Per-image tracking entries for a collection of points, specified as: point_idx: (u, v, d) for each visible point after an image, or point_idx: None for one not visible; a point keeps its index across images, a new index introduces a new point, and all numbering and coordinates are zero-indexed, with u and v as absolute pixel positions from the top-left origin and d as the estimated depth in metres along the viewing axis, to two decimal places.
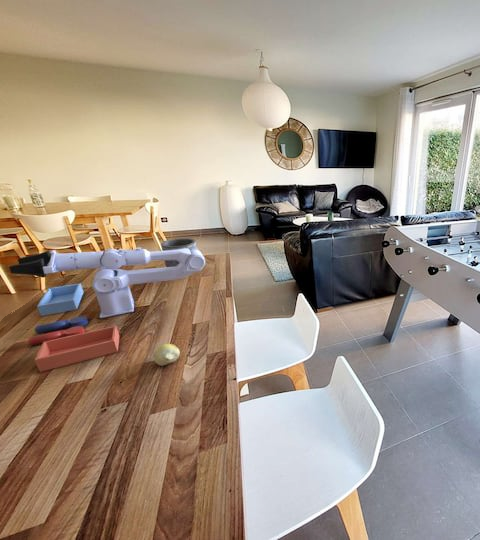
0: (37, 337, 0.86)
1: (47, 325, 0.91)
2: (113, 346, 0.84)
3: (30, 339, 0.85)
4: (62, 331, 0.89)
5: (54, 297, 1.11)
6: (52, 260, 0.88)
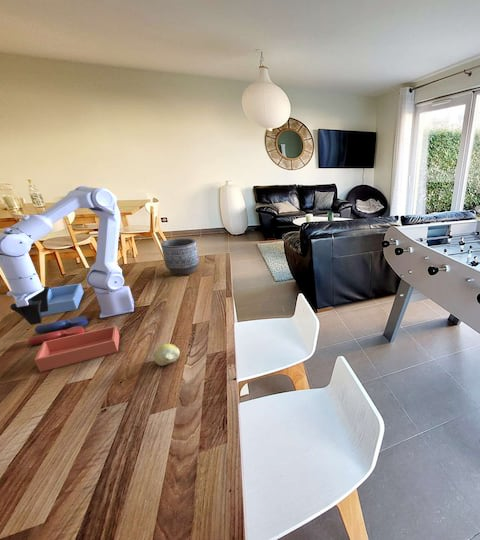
0: (37, 337, 0.86)
1: (47, 325, 0.91)
2: (113, 346, 0.84)
3: (30, 339, 0.85)
4: (62, 331, 0.89)
5: (54, 297, 1.11)
6: (14, 297, 0.78)
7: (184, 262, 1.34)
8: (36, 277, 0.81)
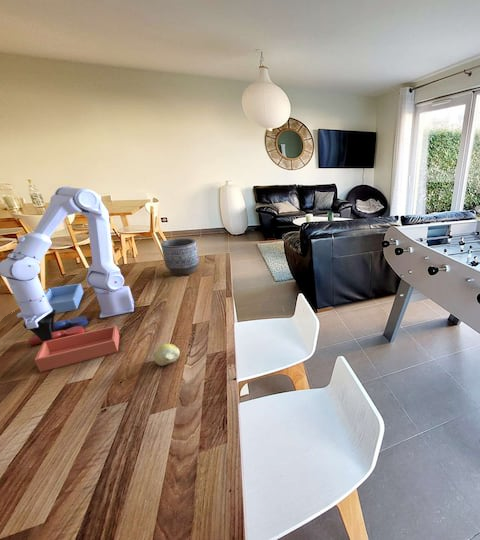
0: (37, 337, 0.86)
1: None
2: (113, 346, 0.84)
3: (30, 339, 0.85)
4: (62, 331, 0.89)
5: (54, 297, 1.11)
6: (24, 319, 0.80)
7: (184, 262, 1.34)
8: (45, 299, 0.84)
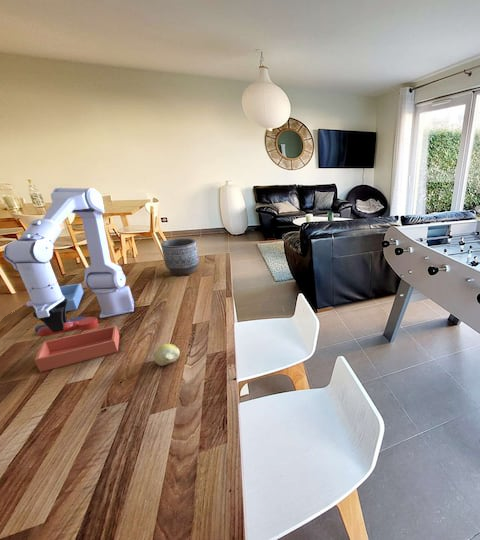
0: (47, 328, 0.78)
1: None
2: (113, 346, 0.84)
3: (40, 330, 0.78)
4: (74, 322, 0.82)
5: None
6: (34, 307, 0.73)
7: (184, 262, 1.34)
8: (57, 286, 0.77)
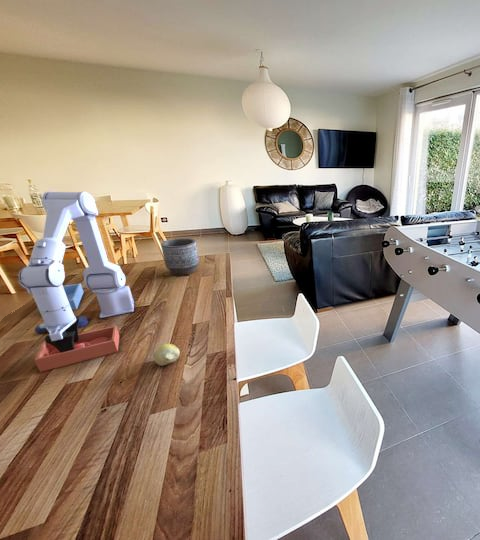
0: None
1: None
2: (113, 346, 0.84)
3: (53, 352, 0.79)
4: (86, 343, 0.83)
5: None
6: None
7: (184, 262, 1.34)
8: (69, 308, 0.78)
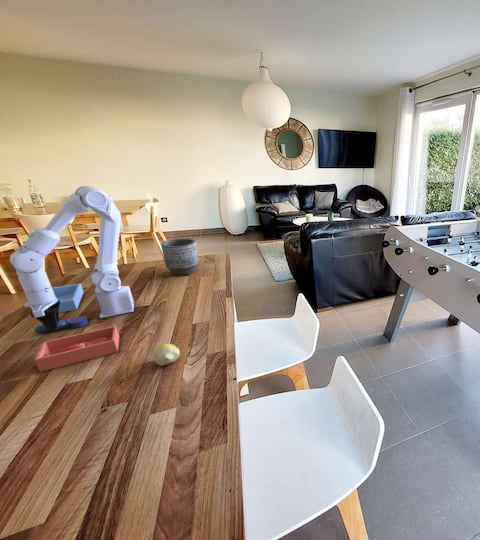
0: (60, 350, 0.80)
1: None
2: (113, 346, 0.84)
3: (53, 352, 0.79)
4: (86, 343, 0.83)
5: None
6: (31, 308, 0.86)
7: (184, 262, 1.34)
8: (51, 290, 0.89)
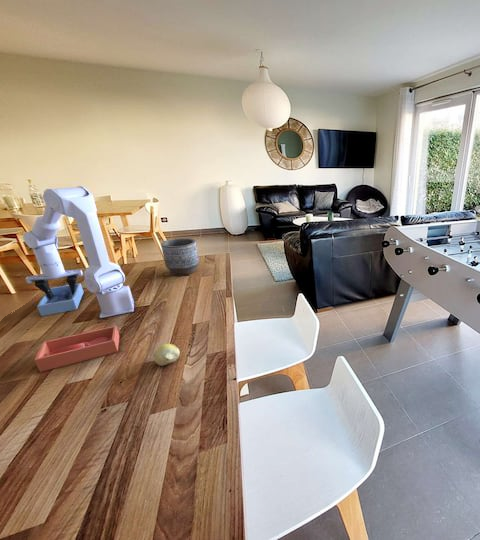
0: (60, 350, 0.80)
1: (60, 293, 1.09)
2: (113, 346, 0.84)
3: (53, 352, 0.79)
4: (86, 343, 0.83)
5: (54, 297, 1.11)
6: None
7: (184, 262, 1.34)
8: (46, 267, 1.02)
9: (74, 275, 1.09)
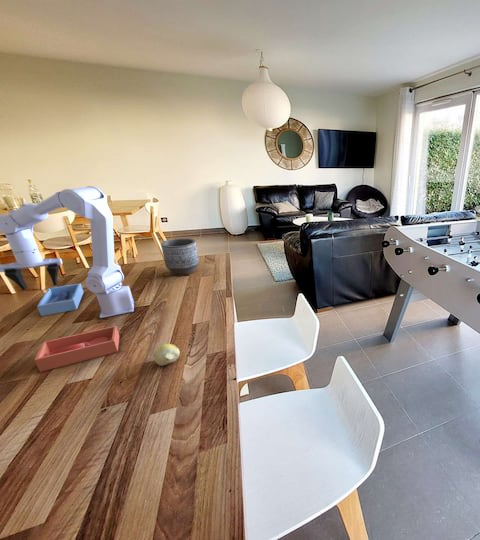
0: (60, 350, 0.80)
1: (60, 293, 1.09)
2: (113, 346, 0.84)
3: (53, 352, 0.79)
4: (86, 343, 0.83)
5: (54, 297, 1.11)
6: None
7: (184, 262, 1.34)
8: (21, 255, 0.93)
9: (55, 264, 1.00)
